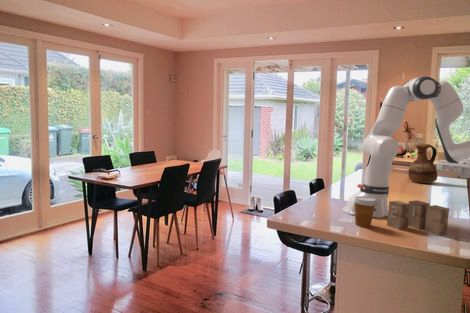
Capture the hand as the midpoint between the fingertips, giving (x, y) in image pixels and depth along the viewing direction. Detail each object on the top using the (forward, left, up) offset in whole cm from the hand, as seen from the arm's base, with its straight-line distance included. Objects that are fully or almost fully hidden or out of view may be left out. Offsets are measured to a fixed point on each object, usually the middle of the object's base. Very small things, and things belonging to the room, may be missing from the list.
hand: (450, 169), depth 168 cm
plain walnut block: (-11, -11, -26) cm, 30 cm away
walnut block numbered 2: (-24, -4, -26) cm, 36 cm away
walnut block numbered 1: (-14, -3, -26) cm, 30 cm away
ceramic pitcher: (+54, +116, -26) cm, 131 cm away
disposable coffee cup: (-39, -4, -26) cm, 47 cm away
